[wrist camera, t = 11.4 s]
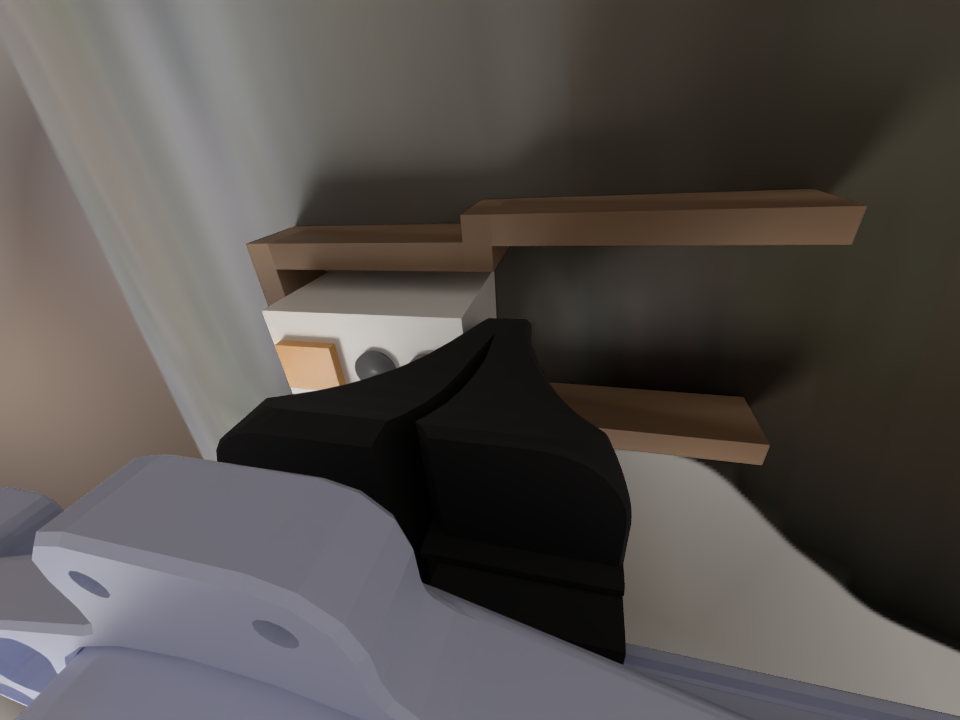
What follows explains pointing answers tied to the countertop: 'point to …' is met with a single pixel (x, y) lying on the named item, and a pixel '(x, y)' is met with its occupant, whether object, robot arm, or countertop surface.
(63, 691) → the robot arm
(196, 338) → the countertop surface
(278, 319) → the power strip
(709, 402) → the brown wooden frame
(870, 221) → the countertop surface
